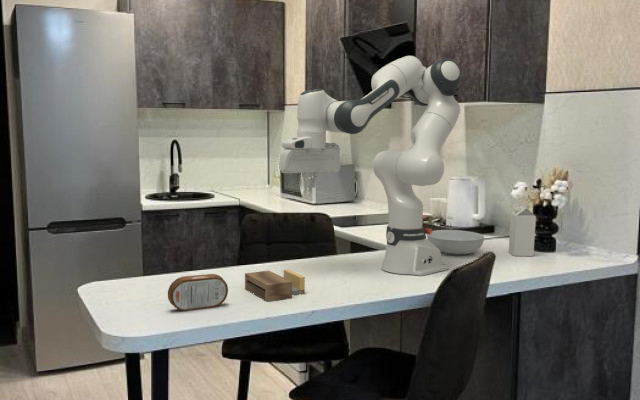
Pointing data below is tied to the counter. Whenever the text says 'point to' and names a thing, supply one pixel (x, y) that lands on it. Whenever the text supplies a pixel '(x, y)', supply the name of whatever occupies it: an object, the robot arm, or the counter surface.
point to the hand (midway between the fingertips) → (310, 187)
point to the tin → (197, 292)
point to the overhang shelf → (268, 285)
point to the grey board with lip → (295, 282)
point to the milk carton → (522, 232)
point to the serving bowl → (456, 241)
